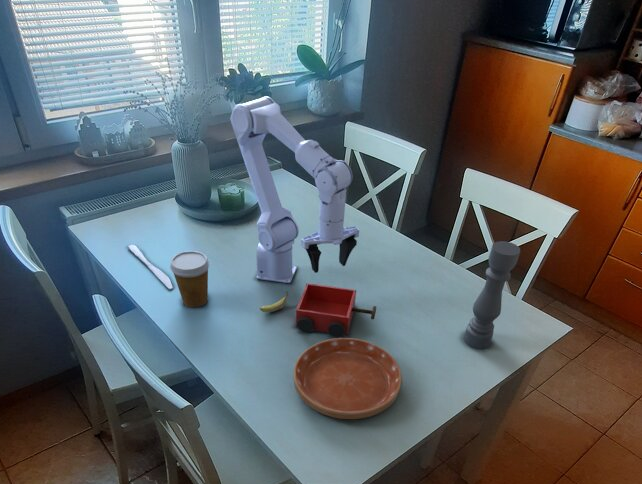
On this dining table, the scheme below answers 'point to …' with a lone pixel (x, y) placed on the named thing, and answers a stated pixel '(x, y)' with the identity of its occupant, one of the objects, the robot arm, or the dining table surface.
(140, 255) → the butter knife
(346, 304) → the cart
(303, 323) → the cart wheels
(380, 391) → the saucer
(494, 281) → the candle holder
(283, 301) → the banana
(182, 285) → the disposable coffee cup
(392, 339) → the dining table surface
